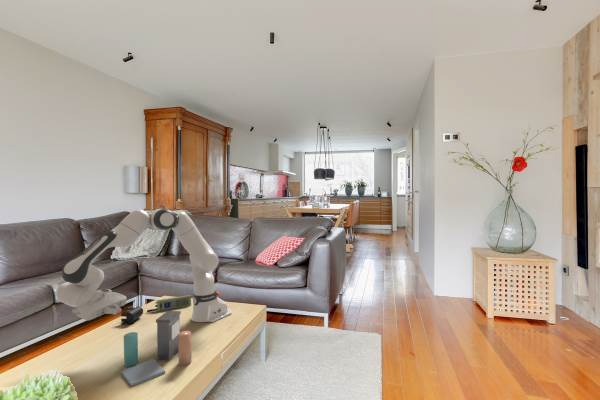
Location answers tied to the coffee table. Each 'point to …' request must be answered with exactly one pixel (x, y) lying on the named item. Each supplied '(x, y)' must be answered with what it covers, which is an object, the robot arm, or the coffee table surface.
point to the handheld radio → (172, 303)
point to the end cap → (131, 315)
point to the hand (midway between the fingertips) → (118, 311)
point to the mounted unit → (168, 335)
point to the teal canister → (130, 349)
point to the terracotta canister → (184, 347)
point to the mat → (142, 372)
